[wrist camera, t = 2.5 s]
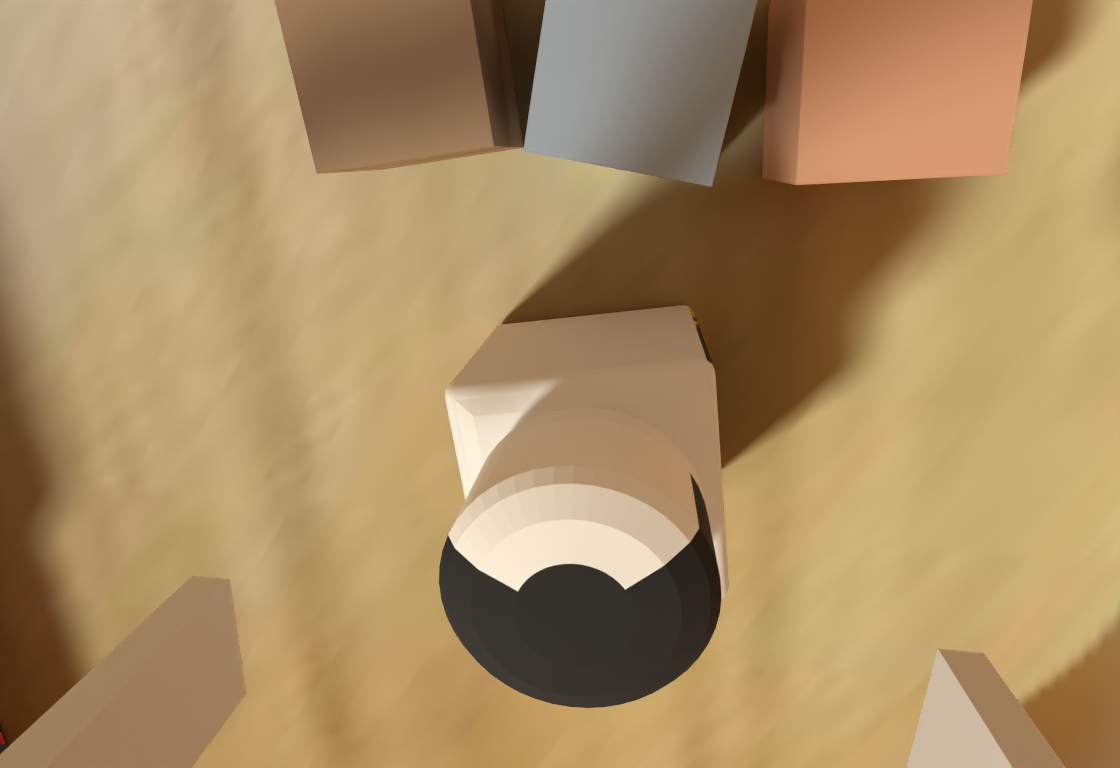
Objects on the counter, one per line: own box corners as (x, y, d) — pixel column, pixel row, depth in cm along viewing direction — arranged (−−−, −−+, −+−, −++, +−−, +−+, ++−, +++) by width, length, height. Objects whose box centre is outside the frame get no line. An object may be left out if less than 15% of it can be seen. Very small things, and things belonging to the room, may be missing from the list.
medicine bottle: (706, 485, 25) (761, 750, 14) (523, 497, 26) (438, 753, 15) (693, 301, 23) (746, 441, 12) (493, 322, 24) (368, 470, 13)
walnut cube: (348, 7, 21) (266, -34, 17) (499, -22, 21) (458, -74, 16) (382, 169, 23) (316, 173, 18) (524, 147, 22) (494, 146, 17)
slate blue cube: (574, -19, 20) (556, -70, 16) (735, 10, 20) (765, -33, 16) (547, 151, 22) (523, 150, 17) (695, 179, 22) (711, 186, 17)
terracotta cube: (768, 4, 20) (808, -41, 15) (944, -10, 19) (1042, -62, 15) (761, 178, 22) (796, 184, 17) (923, 169, 21) (1006, 174, 16)
